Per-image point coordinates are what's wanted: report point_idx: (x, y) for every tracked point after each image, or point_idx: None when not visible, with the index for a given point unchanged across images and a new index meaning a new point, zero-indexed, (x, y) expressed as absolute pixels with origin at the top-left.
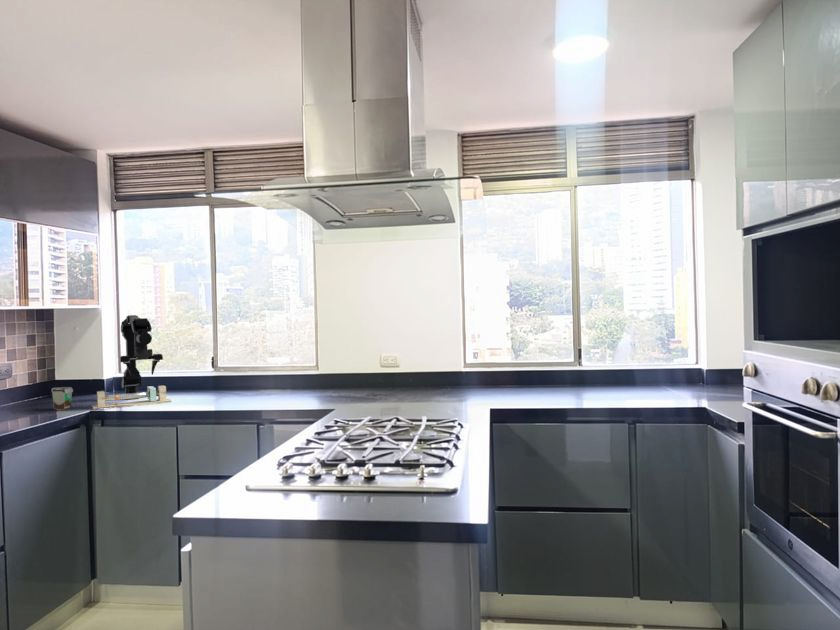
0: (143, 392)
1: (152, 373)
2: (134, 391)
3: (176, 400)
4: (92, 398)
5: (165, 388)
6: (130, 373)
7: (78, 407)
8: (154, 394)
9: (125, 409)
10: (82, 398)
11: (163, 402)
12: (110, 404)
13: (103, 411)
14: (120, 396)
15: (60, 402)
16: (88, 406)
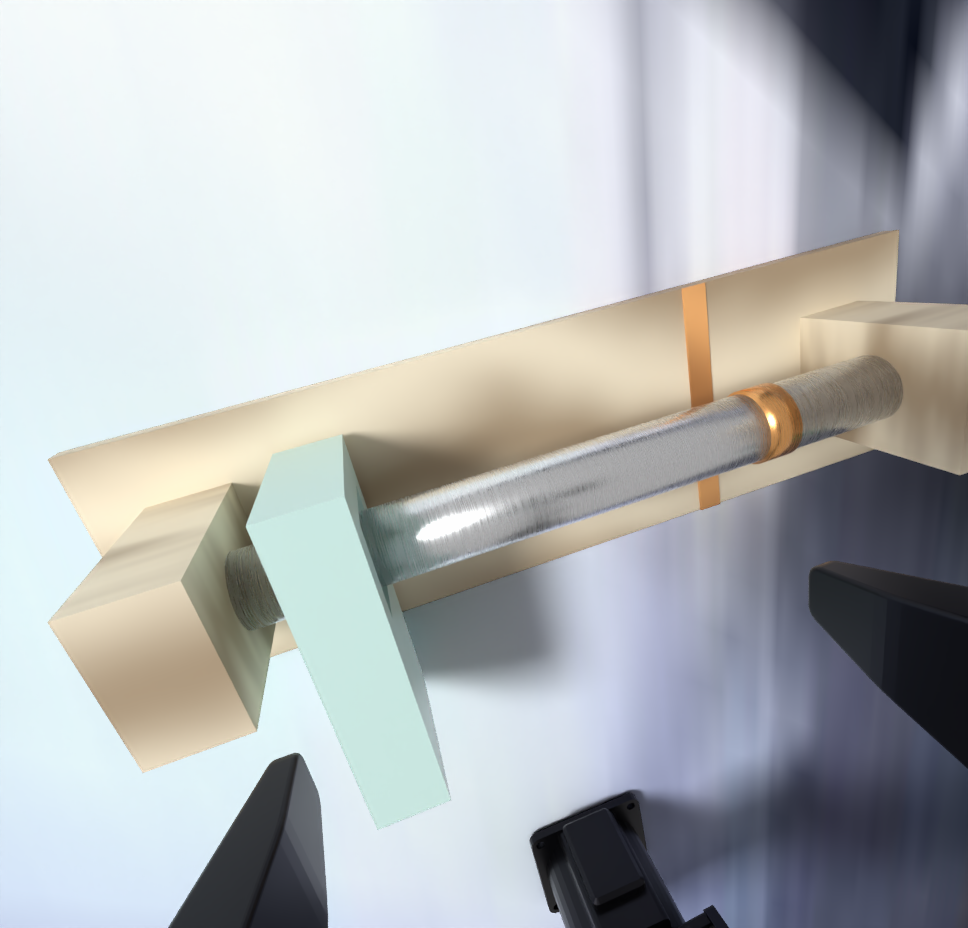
0: (458, 527)
1: (271, 782)
2: (593, 885)
3: (32, 589)
4: (833, 909)
5: (76, 596)
6: (925, 581)
7: (952, 500)
8: (283, 479)
9: (589, 28)
10: (880, 919)
11: (169, 423)
12: None
13: (810, 21)
14: (724, 407)
15: None
16: (889, 524)
